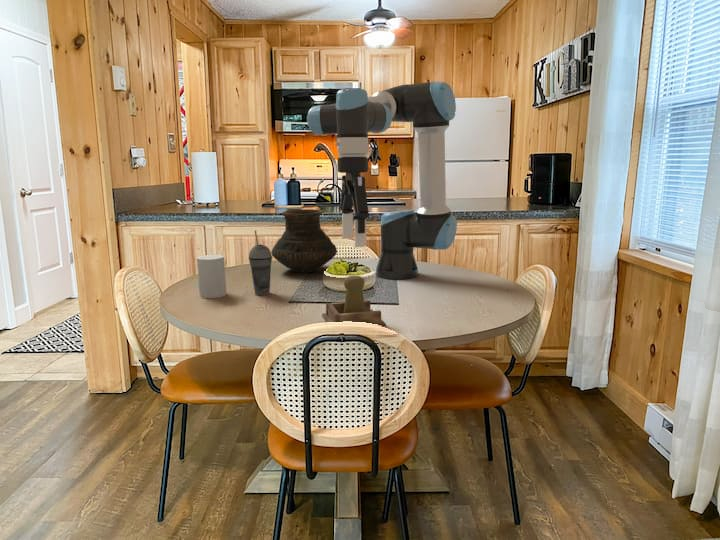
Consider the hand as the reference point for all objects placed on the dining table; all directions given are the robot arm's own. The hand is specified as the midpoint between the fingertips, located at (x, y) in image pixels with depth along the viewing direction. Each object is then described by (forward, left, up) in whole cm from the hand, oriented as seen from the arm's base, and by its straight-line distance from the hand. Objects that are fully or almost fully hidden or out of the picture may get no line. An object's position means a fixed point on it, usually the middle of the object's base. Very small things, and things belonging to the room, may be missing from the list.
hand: (353, 242), depth 129 cm
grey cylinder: (+37, -38, -21) cm, 57 cm away
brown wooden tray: (+1, 0, -21) cm, 21 cm away
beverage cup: (+22, -35, -21) cm, 46 cm away
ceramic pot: (+4, -65, -21) cm, 68 cm away
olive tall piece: (0, 0, -20) cm, 20 cm away
